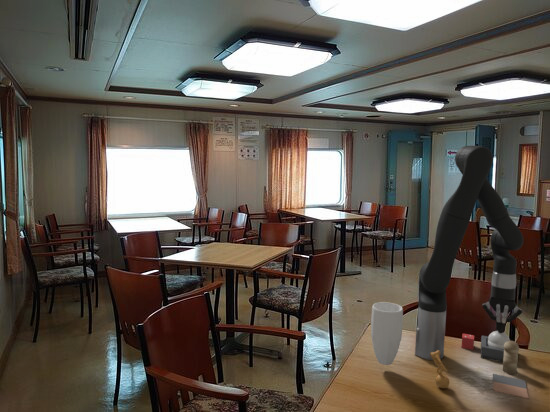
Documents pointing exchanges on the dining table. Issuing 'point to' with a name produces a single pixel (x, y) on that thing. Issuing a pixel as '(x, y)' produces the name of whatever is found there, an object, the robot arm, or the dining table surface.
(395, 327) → the cup
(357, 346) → the dining table surface
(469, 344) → the red die
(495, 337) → the white ball
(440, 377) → the figurine
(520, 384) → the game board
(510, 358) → the wooden pawn
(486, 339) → the dark grey square tray
